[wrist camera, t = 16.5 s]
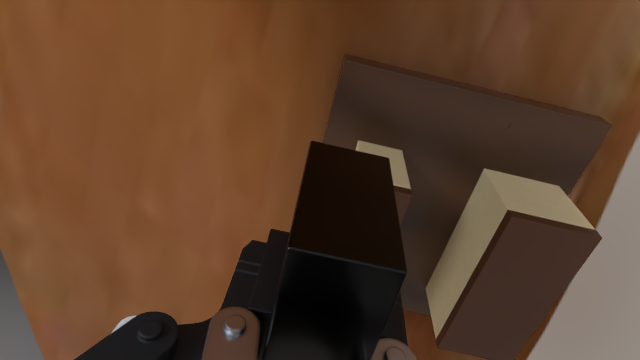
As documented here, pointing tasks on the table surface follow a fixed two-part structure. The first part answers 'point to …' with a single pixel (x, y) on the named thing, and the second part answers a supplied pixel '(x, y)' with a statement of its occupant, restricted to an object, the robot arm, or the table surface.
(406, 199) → the cake slice
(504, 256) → the cake
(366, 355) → the knife
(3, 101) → the table surface
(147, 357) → the robot arm
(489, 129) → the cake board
